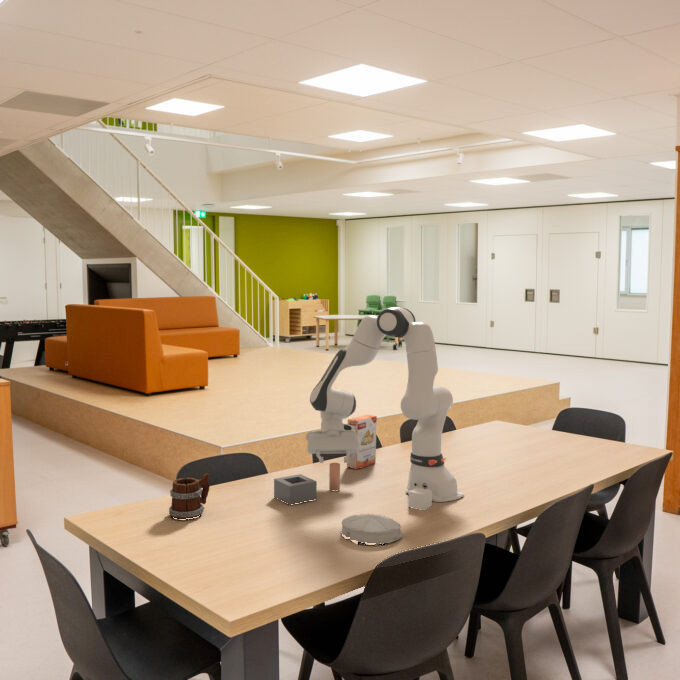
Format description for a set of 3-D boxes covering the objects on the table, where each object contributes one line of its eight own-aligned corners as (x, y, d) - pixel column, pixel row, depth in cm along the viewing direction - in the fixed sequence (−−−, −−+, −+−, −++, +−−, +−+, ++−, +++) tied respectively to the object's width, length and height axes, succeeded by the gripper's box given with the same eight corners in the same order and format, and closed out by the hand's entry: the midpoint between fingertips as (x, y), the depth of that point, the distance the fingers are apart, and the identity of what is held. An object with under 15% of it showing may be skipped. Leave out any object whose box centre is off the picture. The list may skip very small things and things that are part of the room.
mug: (159, 514, 240) (165, 470, 240) (194, 512, 250) (200, 469, 250) (178, 523, 232) (184, 477, 232) (214, 520, 242) (220, 476, 242)
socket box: (316, 500, 257) (316, 481, 256) (289, 505, 250) (289, 486, 250) (300, 492, 266) (300, 474, 265) (274, 497, 260) (274, 478, 259)
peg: (341, 490, 269) (342, 464, 268) (333, 492, 266) (333, 466, 265) (335, 487, 272) (336, 462, 271) (327, 489, 270) (327, 463, 269)
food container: (326, 534, 225) (326, 513, 225) (372, 519, 238) (372, 499, 237) (368, 554, 210) (368, 532, 209) (415, 537, 223) (416, 516, 222)
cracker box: (357, 470, 296) (358, 420, 294) (346, 467, 300) (346, 419, 298) (376, 463, 307) (377, 415, 305) (365, 460, 311) (365, 413, 309)
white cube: (416, 503, 254) (417, 487, 254) (431, 506, 251) (432, 490, 250) (408, 508, 249) (408, 491, 249) (423, 511, 246) (423, 494, 245)
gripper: (306, 427, 278) (306, 458, 269) (358, 426, 280) (360, 457, 271) (305, 435, 283) (306, 466, 274) (356, 435, 285) (359, 465, 276)
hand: (333, 462), depth 273 cm, fingers open, 8 cm apart
